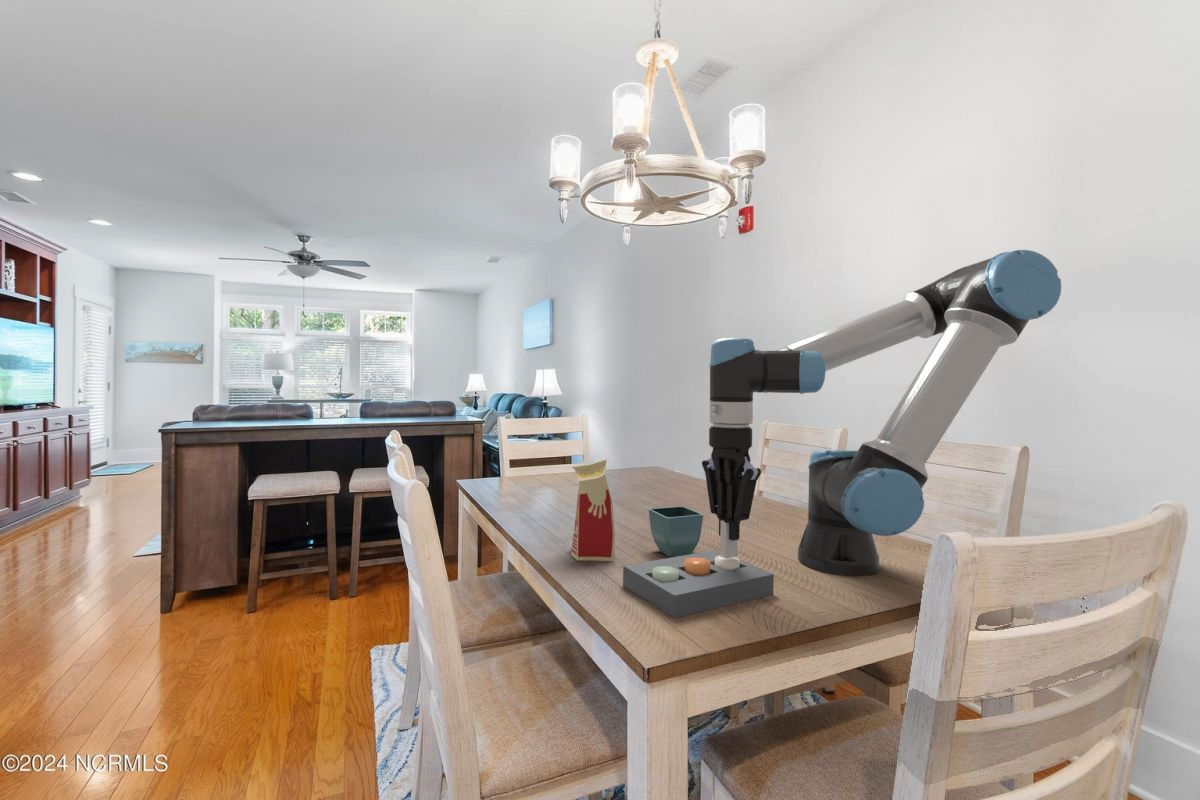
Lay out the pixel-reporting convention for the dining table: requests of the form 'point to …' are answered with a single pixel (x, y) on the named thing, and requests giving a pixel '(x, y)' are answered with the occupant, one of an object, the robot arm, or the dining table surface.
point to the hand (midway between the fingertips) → (728, 556)
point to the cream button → (727, 563)
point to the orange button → (697, 566)
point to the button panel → (697, 585)
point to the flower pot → (675, 529)
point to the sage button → (665, 574)
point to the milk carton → (593, 515)
